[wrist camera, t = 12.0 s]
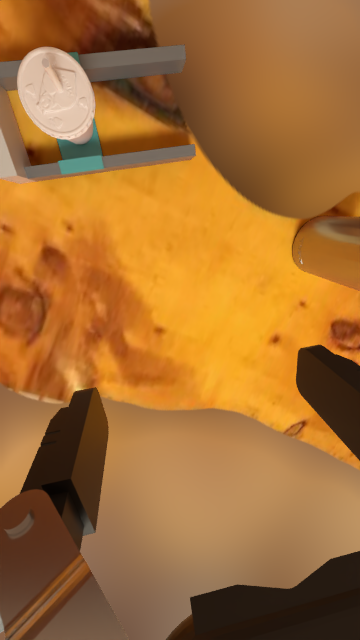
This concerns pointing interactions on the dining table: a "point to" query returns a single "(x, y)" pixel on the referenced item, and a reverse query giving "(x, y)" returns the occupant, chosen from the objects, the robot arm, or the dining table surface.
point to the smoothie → (57, 94)
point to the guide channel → (8, 148)
